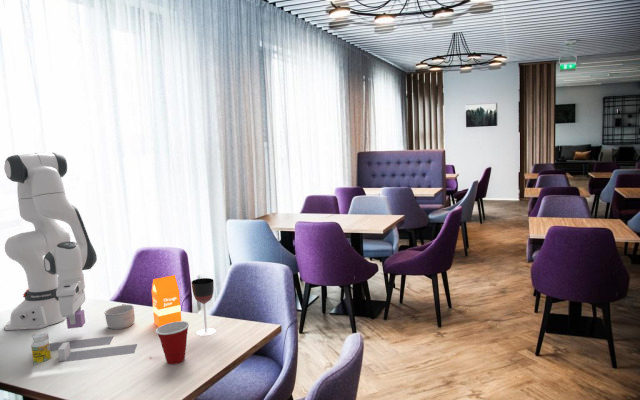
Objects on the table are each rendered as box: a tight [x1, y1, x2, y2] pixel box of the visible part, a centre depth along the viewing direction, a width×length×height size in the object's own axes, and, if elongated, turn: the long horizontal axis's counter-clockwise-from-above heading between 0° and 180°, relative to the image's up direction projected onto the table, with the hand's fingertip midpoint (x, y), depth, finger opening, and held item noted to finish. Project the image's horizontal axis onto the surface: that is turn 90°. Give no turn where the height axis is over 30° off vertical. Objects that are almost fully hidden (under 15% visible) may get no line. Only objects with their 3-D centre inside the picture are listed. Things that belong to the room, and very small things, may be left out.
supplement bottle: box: [30, 332, 52, 366], centre depth 167 cm, size 5×5×10 cm
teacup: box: [104, 303, 136, 330], centre depth 198 cm, size 14×11×8 cm
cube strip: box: [45, 333, 114, 352], centre depth 179 cm, size 24×8×5 cm, turn 103°
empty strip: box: [57, 341, 138, 363], centre depth 170 cm, size 24×8×5 cm, turn 103°
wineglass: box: [191, 277, 217, 337], centre depth 188 cm, size 8×9×20 cm
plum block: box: [65, 309, 86, 329], centre depth 186 cm, size 5×5×5 cm
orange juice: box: [151, 274, 182, 328], centre depth 196 cm, size 8×9×20 cm
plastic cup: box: [155, 320, 190, 365], centre depth 164 cm, size 11×11×12 cm
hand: (75, 320), depth 186 cm, fingers closed on plum block, 5 cm apart
